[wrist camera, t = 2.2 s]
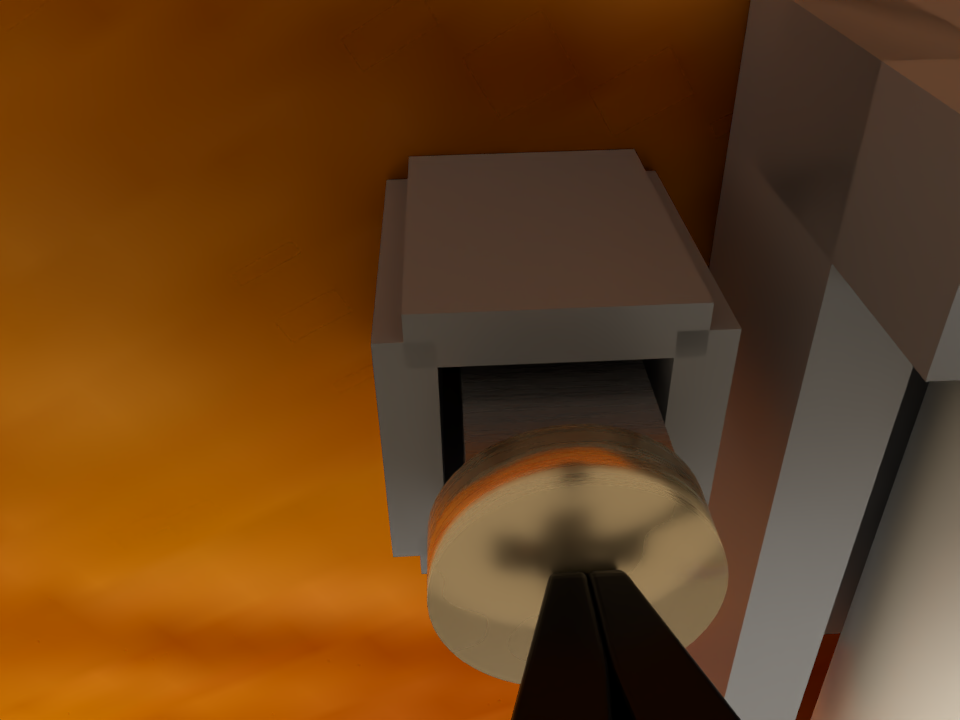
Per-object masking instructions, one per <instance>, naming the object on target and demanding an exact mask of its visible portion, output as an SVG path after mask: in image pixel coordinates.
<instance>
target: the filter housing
mask: <svg viewBox="0 0 960 720" xmlns="http://www.w3.org/2000/svg"><path fill="white" fill-rule="evenodd" d="M371 350H372V360H373V369H374V379H375V388H376V398H377V407H378V417H379V426H380V436H381V445H382V455H383V464H384V474H385V483H386V493H387V502H388V512H389V521H390V531H391V540H392V550H393V557H401V556H420V558H421V571H422V574H427V533H428V521H429V516H430V512H431V509H432V507H433V504H434V502H435V499H436V497H437V496H438V494H439V492H440V491H441V489H442V487H443V486H444V485H445V483H446V482H447V481H448V480H449V479H450V477H451V476H452V475H453V474H454V473H455V472H456V471H457V470H458V469H459V468H460V467H461V466H462V465H463V464H464V461H463V441H462V421H461V401H460V382H459V367H464V366H488V365H513V364H537V363H562V362H587V361H611V360H636V359H642V361H643V364H644V367H645V370H646V373H647V375H648V378H649V381H650V384H651V387H652V390H653V392H654V395H655V398H656V401H657V404H658V407H659V409H660V412H661V415H662V418H663V421H664V424H665V426H666V429H667V432H668V435H669V438H670V441H671V443H672V446H673V449H674V452H675V453H676V454H677V455H678V456H679V457H680V458H681V459H682V460H683V461H684V462H685V463H686V464H687V465H688V467H689V468H690V469H691V471H692V472H693V473H694V475H695V477H696V479H697V481H698V483H699V485H700V487H701V489H702V492H703V495H704V497H705V500H706V503H707V505H708V508H709V511H710V513H711V516H712V519H713V522H714V524H715V527H716V530H717V532H718V535H719V538H720V540H721V543H722V546H723V548H724V551H725V555H726V559H727V562H728V573H729V578H728V586H727V591H726V594H725V598H724V601H723V603H722V605H721V607H720V609H719V611H718V613H717V615H716V616H715V618H714V619H713V621H712V622H711V623H710V625H709V626H708V627H707V628H706V629H705V631H704V632H703V633H702V634H701V635H700V636H699V637H698V638H697V639H696V640H695V641H693V642H692V643H691V644H690V645H689V646H687V647H686V648H685V649H686V650H687V651H688V653H689V654H690V655H691V656H692V658H693V659H694V660H695V661H696V663H697V664H698V665H699V667H700V668H701V669H702V670H703V672H704V673H705V674H706V676H707V677H708V678H709V679H710V681H711V682H712V683H713V685H714V686H715V687H716V688H717V690H718V691H719V692H720V693H721V695H722V696H723V697H724V699H725V700H726V701H727V702H728V704H729V705H730V706H731V708H732V709H733V710H734V711H735V713H736V714H737V715H738V717H739V718H740V719H741V720H795V719H796V716H797V713H798V710H799V707H800V704H801V701H802V698H803V695H804V692H805V689H806V686H807V683H808V680H809V677H810V674H811V671H812V668H813V665H814V662H815V659H816V656H817V653H818V650H819V647H820V644H821V641H822V638H823V635H824V634H837V633H841V632H842V629H843V626H844V623H845V620H846V617H847V614H848V612H849V609H850V606H851V603H852V600H853V597H854V595H855V592H856V589H857V586H858V583H859V580H860V577H861V575H862V572H863V569H864V566H865V563H866V560H867V558H868V555H869V552H870V549H871V546H872V543H873V541H874V538H875V535H876V532H877V529H878V526H879V523H880V521H881V518H882V515H883V512H884V509H885V506H886V504H887V501H888V498H889V495H890V492H891V489H892V486H893V484H894V481H895V478H896V475H897V472H898V469H899V467H900V464H901V461H902V458H903V455H904V452H905V449H906V447H907V444H908V441H909V438H910V435H911V432H912V430H913V427H914V424H915V421H916V418H917V415H918V412H919V410H920V407H921V404H922V401H923V398H924V395H925V393H926V390H927V387H928V384H929V381H951V380H960V0H751V1H750V8H749V14H748V21H747V27H746V34H745V40H744V46H743V53H742V59H741V66H740V72H739V79H738V85H737V91H736V98H735V104H734V111H733V117H732V124H731V130H730V136H729V143H728V149H727V156H726V162H725V169H724V175H723V181H722V188H721V194H720V201H719V207H718V214H717V220H716V226H715V233H714V239H713V246H712V252H711V259H710V265H709V268H708V266H707V265H706V263H705V261H704V259H703V257H702V255H701V254H700V252H699V250H698V248H697V246H696V244H695V243H694V241H693V239H692V237H691V235H690V233H689V232H688V230H687V228H686V226H685V224H684V222H683V221H682V219H681V217H680V215H679V213H678V211H677V210H676V208H675V206H674V204H673V202H672V200H671V199H670V197H669V195H668V193H667V191H666V189H665V187H664V186H663V184H662V182H661V180H660V178H659V176H658V175H657V173H656V171H645V169H644V167H643V165H642V163H641V161H640V159H639V157H638V155H637V153H636V152H635V150H634V149H621V150H591V151H561V152H530V153H500V154H469V155H439V156H409V163H408V179H393V180H387V182H386V192H385V203H384V213H383V223H382V234H381V244H380V254H379V265H378V275H377V285H376V296H375V306H374V316H373V326H372V337H371Z"/></svg>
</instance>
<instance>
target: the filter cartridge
mask: <svg viewBox="0 0 960 720" xmlns="http://www.w3.org/2000/svg"><path fill="white" fill-rule="evenodd" d="M811 720H960V380H951V381H929V384H928V387H927V390H926V393H925V395H924V398H923V401H922V404H921V407H920V410H919V412H918V415H917V418H916V421H915V424H914V427H913V430H912V432H911V435H910V438H909V441H908V444H907V447H906V449H905V452H904V455H903V458H902V461H901V464H900V467H899V469H898V472H897V475H896V478H895V481H894V484H893V486H892V489H891V492H890V495H889V498H888V501H887V504H886V506H885V509H884V512H883V515H882V518H881V521H880V523H879V526H878V529H877V532H876V535H875V538H874V541H873V543H872V546H871V549H870V552H869V555H868V558H867V560H866V563H865V566H864V569H863V572H862V575H861V577H860V580H859V583H858V586H857V589H856V592H855V595H854V597H853V600H852V603H851V606H850V609H849V612H848V614H847V617H846V620H845V623H844V626H843V629H842V632H841V634H840V637H839V640H838V643H837V646H836V649H835V651H834V654H833V657H832V660H831V663H830V666H829V669H828V671H827V674H826V677H825V680H824V683H823V686H822V688H821V691H820V694H819V697H818V700H817V703H816V706H815V708H814V711H813V714H812V717H811Z"/></svg>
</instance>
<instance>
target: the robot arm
mask: <svg viewBox="0 0 960 720" xmlns="http://www.w3.org/2000/svg"><path fill="white" fill-rule="evenodd" d="M511 720H741V719H740V718H739V717H738V715H737V714H736V713H735V711H734V710H733V709H732V708H731V706H730V705H729V704H728V702H727V701H726V700H725V699H724V697H723V696H722V695H721V693H720V692H719V691H718V690H717V688H716V687H715V686H714V685H713V683H712V682H711V681H710V679H709V678H708V677H707V676H706V674H705V673H704V672H703V670H702V669H701V668H700V667H699V665H698V664H697V663H696V661H695V660H694V659H693V658H692V656H691V655H690V654H689V653H688V651H687V650H686V649H685V647H684V646H683V645H682V644H681V642H680V641H679V640H678V638H677V637H676V636H675V635H674V633H673V632H672V631H671V629H670V628H669V627H668V626H667V624H666V623H665V622H664V621H663V619H662V618H661V617H660V615H659V614H658V613H657V612H656V610H655V609H654V608H653V606H652V605H651V604H650V603H649V601H648V600H647V599H646V597H645V596H644V595H643V594H642V592H641V591H640V590H639V589H638V587H637V586H636V585H635V583H634V582H633V581H632V580H631V578H630V577H629V576H628V575H627V574H626V573H625V572H624V571H622V570H596V571H591V572H589V573H588V575H587V576H586V574H585V573H583V572H580V571H575V572H555V573H552V574H551V575H550V576H549V579H548V582H547V586H546V589H545V593H544V597H543V601H542V605H541V608H540V612H539V616H538V620H537V623H536V627H535V631H534V635H533V638H532V642H531V646H530V650H529V654H528V657H527V661H526V665H525V669H524V672H523V676H522V680H521V684H520V688H519V691H518V695H517V699H516V703H515V706H514V710H513V714H512V718H511Z"/></svg>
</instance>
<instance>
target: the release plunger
mask: <svg viewBox="0 0 960 720" xmlns="http://www.w3.org/2000/svg"><path fill="white" fill-rule="evenodd" d="M459 382H460V401H461V421H462V441H463V461H464V464H463V465H462V466H461V467H460V468H459V469H458V470H457V471H456V472H455V473H454V474H453V475H452V476H451V477H450V479H449V480H448V481H447V482H446V483H445V485H444V486H443V487H442V489H441V491H440V492H439V494H438V496H437V497H436V499H435V502H434V504H433V507H432V509H431V512H430V516H429V521H428V533H427V605H428V611H429V617H430V619H431V622H432V625H433V627H434V629H435V631H436V633H437V634H438V636H439V638H440V639H441V641H442V642H443V643H444V644H445V645H446V646H447V648H448V649H449V650H450V651H451V652H452V653H454V654H455V655H456V656H457V657H458V658H460V659H461V660H462V661H464V662H465V663H467V664H468V665H470V666H472V667H473V668H475V669H477V670H479V671H481V672H483V673H486V674H488V675H490V676H493V677H496V678H499V679H502V680H505V681H509V682H513V683H517V684H521V680H522V676H523V672H524V669H525V665H526V661H527V657H528V654H529V650H530V646H531V642H532V638H533V635H534V631H535V627H536V623H537V620H538V616H539V612H540V608H541V605H542V601H543V597H544V593H545V589H546V586H547V582H548V579H549V576H550V575H551V574H552V573H555V572H575V571H580V572H583V573H585V574H586V576H587V575H588V573H589V572H591V571H596V570H622V571H624V572H625V573H626V574H627V575H628V576H629V577H630V578H631V580H632V581H633V582H634V583H635V585H636V586H637V587H638V589H639V590H640V591H641V592H642V594H643V595H644V596H645V597H646V599H647V600H648V601H649V603H650V604H651V605H652V606H653V608H654V609H655V610H656V612H657V613H658V614H659V615H660V617H661V618H662V619H663V621H664V622H665V623H666V624H667V626H668V627H669V628H670V629H671V631H672V632H673V633H674V635H675V636H676V637H677V638H678V640H679V641H680V642H681V644H682V645H683V646H684V647H685V648H686V647H687V646H689V645H690V644H691V643H692V642H693V641H695V640H696V639H697V638H698V637H699V636H700V635H701V634H702V633H703V632H704V631H705V629H706V628H707V627H708V626H709V625H710V623H711V622H712V621H713V619H714V618H715V616H716V615H717V613H718V611H719V609H720V607H721V605H722V603H723V601H724V598H725V594H726V591H727V586H728V578H729V573H728V562H727V559H726V555H725V551H724V548H723V546H722V543H721V540H720V538H719V535H718V532H717V530H716V527H715V524H714V522H713V519H712V516H711V513H710V511H709V508H708V505H707V503H706V500H705V497H704V495H703V492H702V489H701V487H700V485H699V483H698V481H697V479H696V477H695V475H694V473H693V472H692V471H691V469H690V468H689V467H688V465H687V464H686V463H685V462H684V461H683V460H682V459H681V458H680V457H679V456H678V455H677V454H676V453H675V452H674V449H673V446H672V443H671V441H670V438H669V435H668V432H667V429H666V426H665V424H664V421H663V418H662V415H661V412H660V409H659V407H658V404H657V401H656V398H655V395H654V392H653V390H652V387H651V384H650V381H649V378H648V375H647V373H646V370H645V367H644V364H643V361H642V359H636V360H611V361H587V362H562V363H537V364H513V365H488V366H464V367H459Z"/></svg>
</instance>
